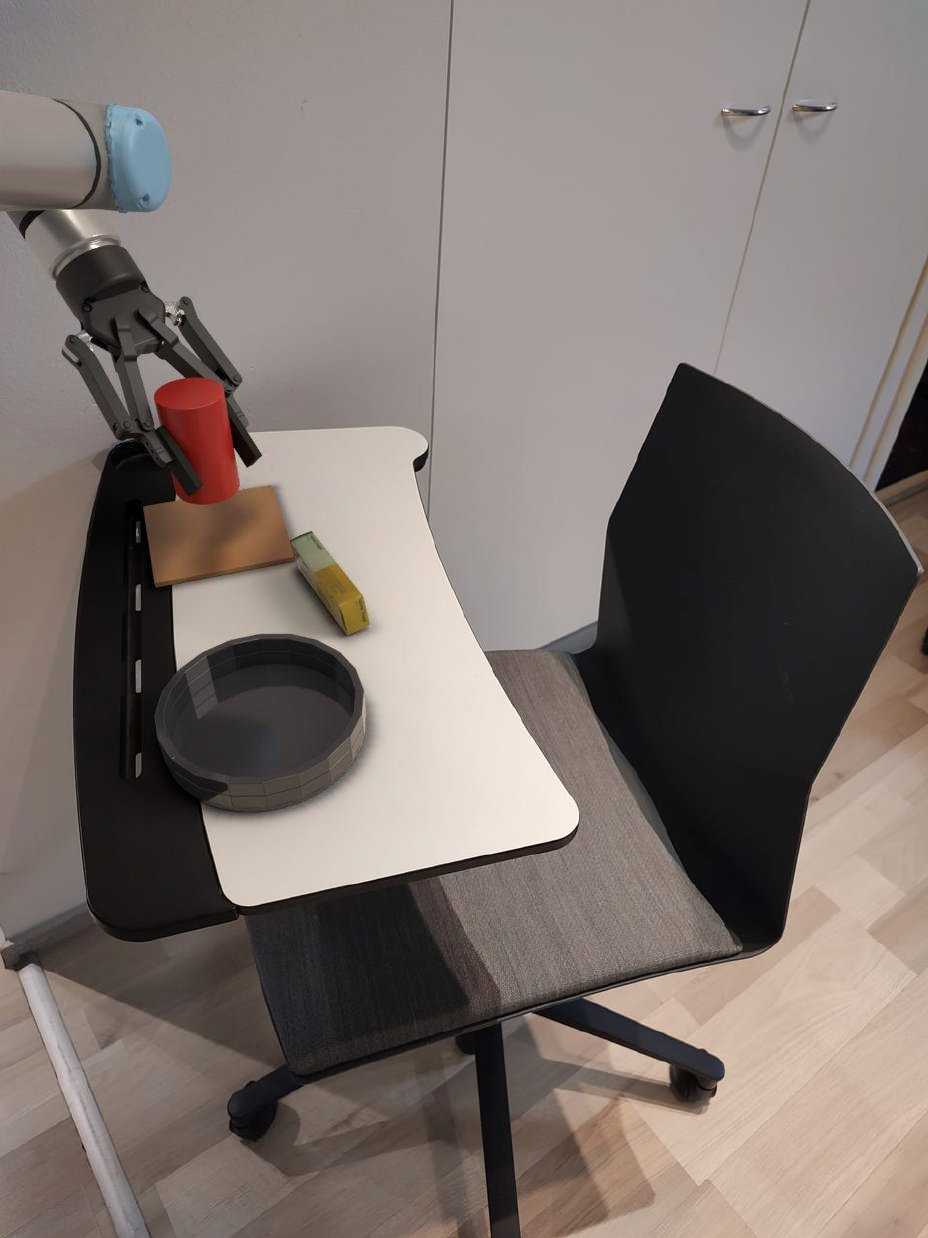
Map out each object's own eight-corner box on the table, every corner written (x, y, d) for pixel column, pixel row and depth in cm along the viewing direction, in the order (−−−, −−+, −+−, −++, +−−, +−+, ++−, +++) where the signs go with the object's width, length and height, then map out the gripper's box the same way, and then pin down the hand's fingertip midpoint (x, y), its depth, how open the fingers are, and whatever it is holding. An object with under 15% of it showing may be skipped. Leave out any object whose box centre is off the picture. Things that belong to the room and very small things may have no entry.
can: (179, 509, 87) (156, 413, 80) (172, 476, 91) (150, 382, 84) (244, 498, 88) (228, 403, 81) (235, 466, 93) (218, 373, 86)
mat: (155, 587, 87) (154, 583, 87) (144, 510, 97) (142, 506, 96) (296, 560, 91) (295, 556, 90) (271, 489, 101) (270, 484, 100)
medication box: (296, 569, 90) (287, 538, 87) (320, 559, 91) (312, 528, 88) (346, 637, 82) (338, 605, 79) (372, 625, 83) (365, 593, 80)
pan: (175, 836, 65) (166, 808, 63) (155, 686, 77) (147, 657, 75) (388, 780, 70) (387, 751, 68) (339, 645, 81) (336, 616, 79)
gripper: (164, 259, 92) (286, 451, 95) (-15, 314, 81) (130, 530, 84) (186, 217, 86) (315, 424, 89) (-5, 270, 75) (151, 505, 78)
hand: (225, 475), depth 86 cm, fingers closed on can, 6 cm apart
